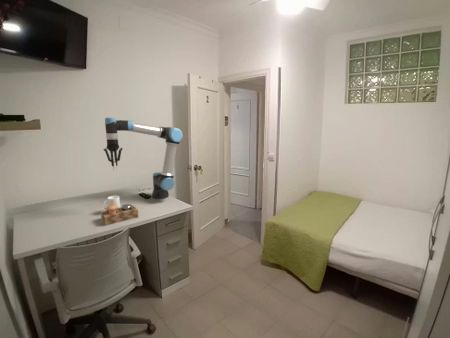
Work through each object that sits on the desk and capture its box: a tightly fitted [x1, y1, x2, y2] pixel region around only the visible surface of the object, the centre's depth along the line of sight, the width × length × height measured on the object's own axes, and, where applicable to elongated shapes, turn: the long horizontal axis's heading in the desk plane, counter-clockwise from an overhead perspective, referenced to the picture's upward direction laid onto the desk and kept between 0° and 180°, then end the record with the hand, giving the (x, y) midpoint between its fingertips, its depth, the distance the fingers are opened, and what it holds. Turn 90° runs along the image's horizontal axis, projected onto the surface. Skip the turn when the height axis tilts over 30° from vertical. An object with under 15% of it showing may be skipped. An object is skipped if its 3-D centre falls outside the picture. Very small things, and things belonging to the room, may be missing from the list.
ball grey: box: [121, 203, 132, 211], centre depth 169 cm, size 6×6×8 cm
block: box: [100, 204, 139, 226], centre depth 166 cm, size 22×12×6 cm, turn 129°
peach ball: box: [106, 205, 117, 214], centre depth 163 cm, size 6×6×8 cm
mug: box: [102, 195, 121, 210], centre depth 176 cm, size 12×8×12 cm
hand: (115, 170), depth 174 cm, fingers closed
